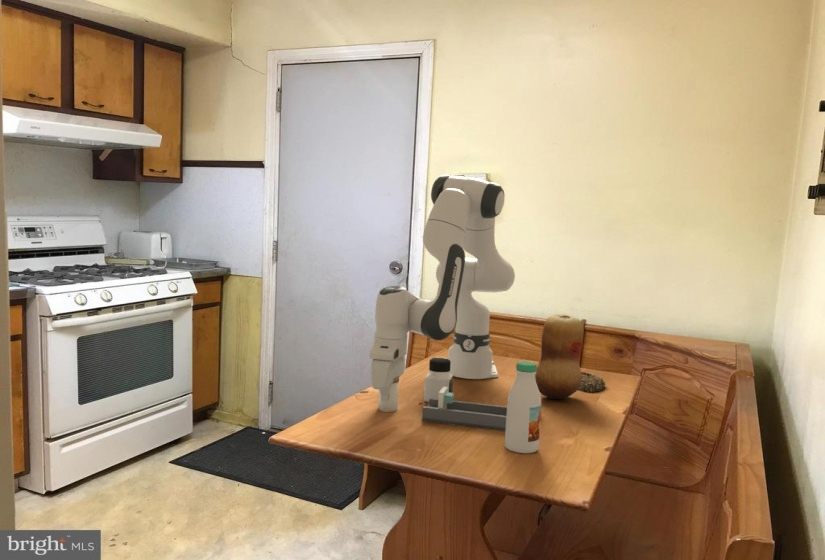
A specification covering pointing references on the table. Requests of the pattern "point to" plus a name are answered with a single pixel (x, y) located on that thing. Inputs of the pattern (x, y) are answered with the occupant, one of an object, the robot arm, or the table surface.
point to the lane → (466, 414)
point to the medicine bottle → (438, 378)
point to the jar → (390, 398)
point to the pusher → (445, 398)
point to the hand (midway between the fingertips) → (388, 397)
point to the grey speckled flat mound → (591, 383)
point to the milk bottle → (523, 411)
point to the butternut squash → (560, 357)
